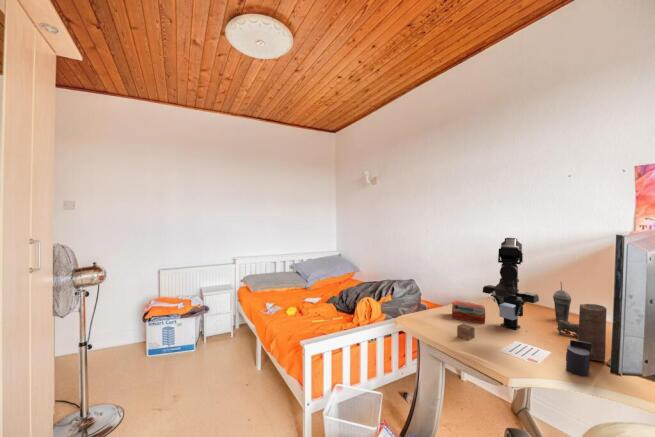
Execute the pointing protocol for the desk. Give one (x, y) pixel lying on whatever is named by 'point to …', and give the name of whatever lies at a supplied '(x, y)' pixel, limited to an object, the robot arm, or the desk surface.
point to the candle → (593, 329)
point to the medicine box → (468, 311)
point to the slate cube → (507, 311)
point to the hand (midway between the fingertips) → (508, 314)
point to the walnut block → (465, 331)
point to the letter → (526, 352)
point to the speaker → (578, 358)
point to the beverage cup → (562, 304)
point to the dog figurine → (567, 327)
